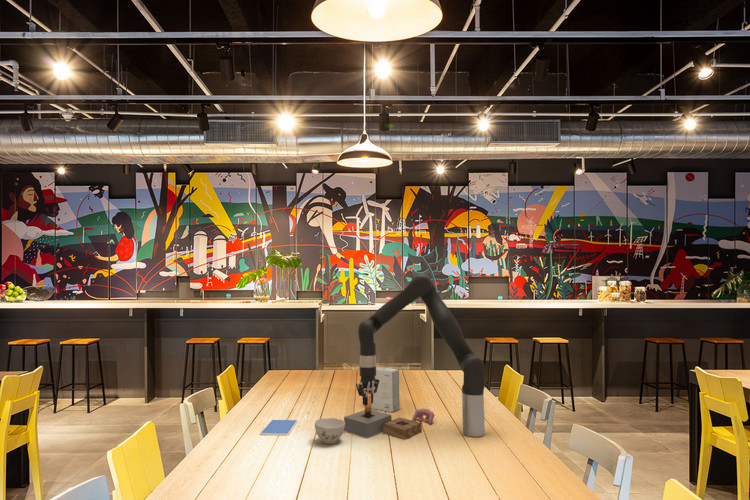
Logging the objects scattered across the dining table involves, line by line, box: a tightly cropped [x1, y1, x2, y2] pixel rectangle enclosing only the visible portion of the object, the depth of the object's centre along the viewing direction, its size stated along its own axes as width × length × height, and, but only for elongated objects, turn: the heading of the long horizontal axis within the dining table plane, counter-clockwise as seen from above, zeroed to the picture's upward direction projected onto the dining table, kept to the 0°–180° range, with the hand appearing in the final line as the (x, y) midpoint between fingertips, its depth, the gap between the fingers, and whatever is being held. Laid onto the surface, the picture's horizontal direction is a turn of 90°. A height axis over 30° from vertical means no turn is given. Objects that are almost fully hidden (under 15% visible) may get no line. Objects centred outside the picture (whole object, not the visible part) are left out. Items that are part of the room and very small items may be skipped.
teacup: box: [314, 417, 345, 445], centre depth 183 cm, size 15×12×8 cm
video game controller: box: [411, 408, 435, 426], centre depth 207 cm, size 10×5×7 cm
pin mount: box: [382, 416, 423, 440], centre depth 192 cm, size 12×12×4 cm
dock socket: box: [343, 409, 392, 439], centre depth 196 cm, size 16×14×6 cm
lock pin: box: [364, 392, 372, 417], centre depth 197 cm, size 3×3×10 cm
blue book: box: [259, 419, 298, 437], centre depth 199 cm, size 19×13×1 cm, turn 177°
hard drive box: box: [371, 366, 401, 413], centre depth 229 cm, size 16×8×20 cm, turn 58°
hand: (367, 404), depth 197 cm, fingers closed on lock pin, 3 cm apart
